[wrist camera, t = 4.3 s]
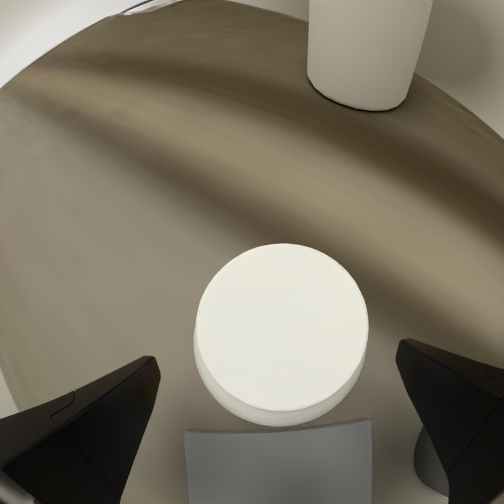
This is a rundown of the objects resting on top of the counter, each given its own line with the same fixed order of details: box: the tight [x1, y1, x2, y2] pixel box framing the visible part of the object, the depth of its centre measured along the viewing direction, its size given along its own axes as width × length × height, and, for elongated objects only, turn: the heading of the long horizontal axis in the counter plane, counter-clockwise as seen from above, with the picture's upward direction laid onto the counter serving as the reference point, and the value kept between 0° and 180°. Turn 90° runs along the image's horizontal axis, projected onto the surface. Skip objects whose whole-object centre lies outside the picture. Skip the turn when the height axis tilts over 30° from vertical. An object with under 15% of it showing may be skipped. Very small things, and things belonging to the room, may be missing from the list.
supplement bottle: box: [194, 244, 369, 427], centre depth 13 cm, size 7×7×13 cm
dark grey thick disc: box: [414, 427, 449, 497], centre depth 13 cm, size 8×8×3 cm
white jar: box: [307, 0, 433, 111], centre depth 22 cm, size 12×12×20 cm
